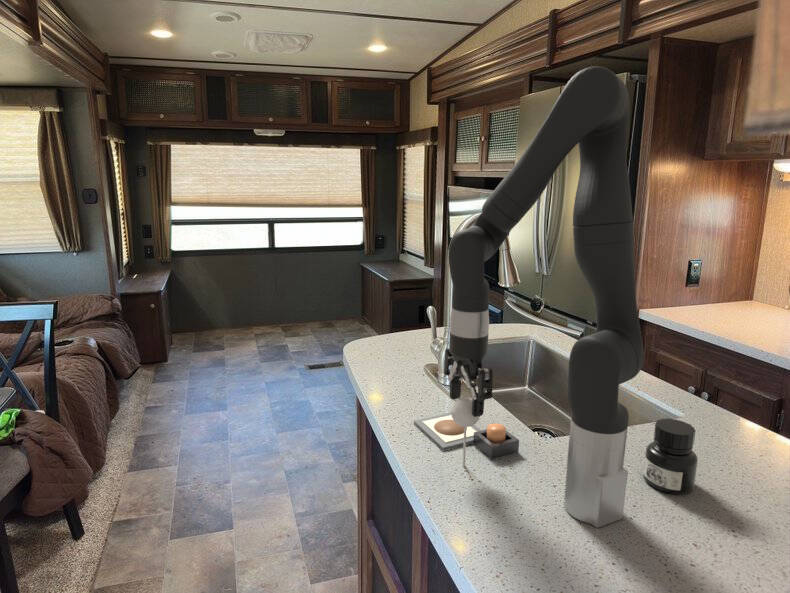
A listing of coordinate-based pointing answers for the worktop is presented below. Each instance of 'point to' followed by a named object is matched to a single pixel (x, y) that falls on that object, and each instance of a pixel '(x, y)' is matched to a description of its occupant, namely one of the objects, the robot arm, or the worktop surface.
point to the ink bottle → (671, 457)
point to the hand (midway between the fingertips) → (465, 406)
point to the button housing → (496, 445)
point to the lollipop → (463, 417)
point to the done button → (496, 433)
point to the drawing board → (446, 431)
